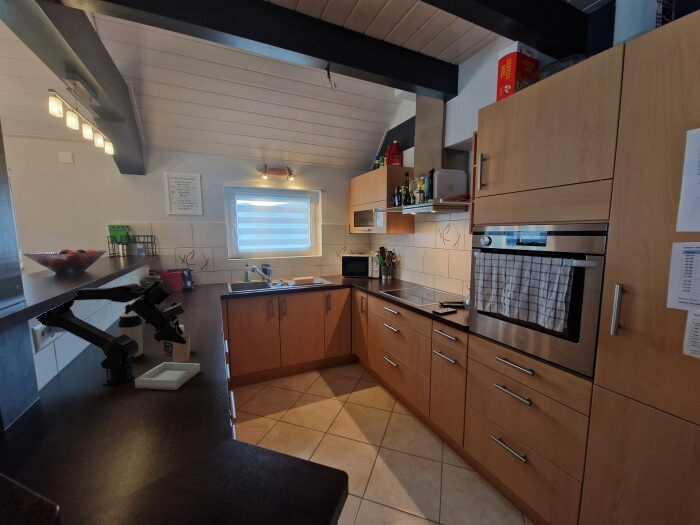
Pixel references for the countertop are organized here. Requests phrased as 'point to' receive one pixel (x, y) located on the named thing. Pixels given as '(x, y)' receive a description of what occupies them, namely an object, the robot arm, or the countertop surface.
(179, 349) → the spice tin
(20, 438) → the countertop surface
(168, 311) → the robot arm
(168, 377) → the tray
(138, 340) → the travel mug
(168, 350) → the medicine bottle
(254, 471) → the countertop surface
